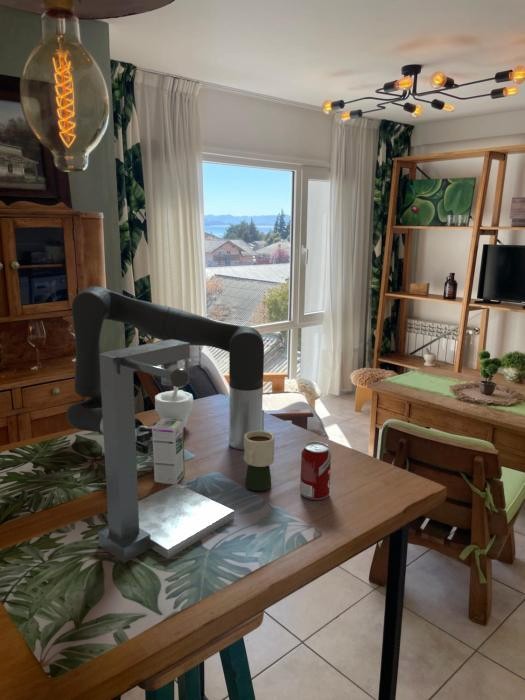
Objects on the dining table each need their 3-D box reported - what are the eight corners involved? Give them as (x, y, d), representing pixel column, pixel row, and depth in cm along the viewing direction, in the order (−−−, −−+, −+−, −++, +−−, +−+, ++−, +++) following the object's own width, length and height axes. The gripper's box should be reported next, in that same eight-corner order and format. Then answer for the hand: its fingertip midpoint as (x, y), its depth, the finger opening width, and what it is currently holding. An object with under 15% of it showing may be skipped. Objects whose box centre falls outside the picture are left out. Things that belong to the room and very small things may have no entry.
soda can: (310, 504, 116) (312, 454, 113) (294, 491, 122) (296, 443, 119) (334, 498, 119) (337, 449, 116) (318, 485, 125) (320, 438, 122)
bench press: (176, 490, 120) (173, 328, 112) (267, 535, 104) (271, 348, 95) (84, 535, 102) (71, 345, 94) (175, 598, 86) (171, 374, 77)
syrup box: (176, 485, 123) (175, 428, 120) (153, 482, 124) (151, 425, 121) (185, 474, 129) (184, 419, 125) (162, 471, 130) (161, 417, 126)
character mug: (254, 474, 129) (254, 425, 126) (280, 480, 127) (282, 430, 124) (234, 494, 120) (234, 441, 117) (262, 501, 117) (264, 447, 114)
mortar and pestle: (201, 425, 161) (200, 346, 155) (176, 437, 151) (174, 354, 145) (170, 416, 167) (169, 341, 161) (144, 427, 158) (142, 347, 152)
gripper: (96, 421, 130) (136, 438, 120) (142, 407, 141) (183, 422, 131) (98, 449, 132) (137, 468, 122) (143, 433, 143) (183, 449, 133)
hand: (161, 444), depth 126 cm, fingers open, 8 cm apart
